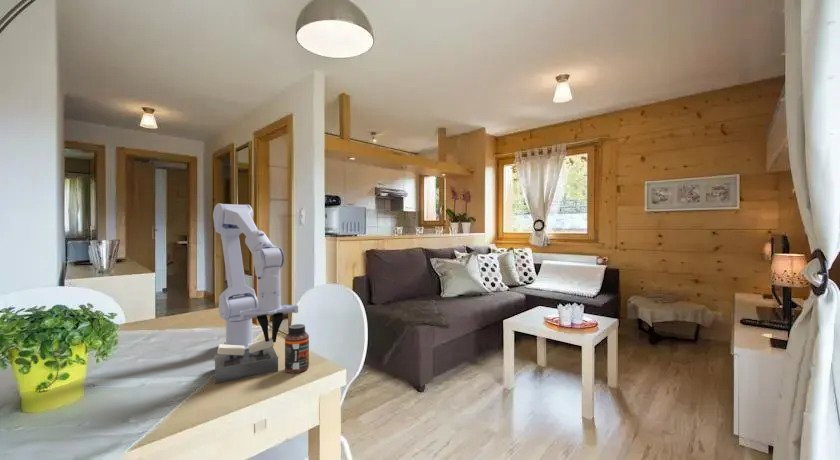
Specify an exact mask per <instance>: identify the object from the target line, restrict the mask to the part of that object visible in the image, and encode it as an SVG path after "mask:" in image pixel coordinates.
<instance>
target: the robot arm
mask: <svg viewBox="0 0 840 460" xmlns="http://www.w3.org/2000/svg"><path fill="white" fill-rule="evenodd" d="M212 213H213V214H212V218H213V227H214V230H215V233H217V234H219V235H220V239H221V244H222V251H223V259H224V261H223V262H224V267H225V275H226V282H227V288H226V289H224V290H223V291H222V292H221V293H220V294H219V296H218V313H219V316H220V318H221V319H222V320H223V321H225V342H223V344H225V345H241V346H244V347H245V351H246V350H249V349H248V344H250V343H253V342H254V340H253V319H254V318H256V319H257V322H258V324H259V325H260V327H261V330H262V333H263V337H264V339H265V341H266V342H268V341H269V338H270V337H269V319H268V318H269V316H271V326H272V327H271V328H272V330H271V337H272V339H273V343H276V342H277V336H278V332H279V329H280V327H281V325H282V323H283V320H284V315H286V314H292V313H294V314H298V313H299V305H298V304H297V303H296V304H284V305H282V297H281V295H282V292H281V289H282V288H281V286H282V285H281V283H282V282H281V268H283V266H284V264H285V258H286V257H285V253H284V251H283V248H282V247H280V246H277V245H274V244H273V243H272V241H271V240H270V239H269V238H268V236H267V234H266V233H265V232H264V231H263V230H261V229H260V230H259V229H258V227H257V225H256V223H255V222H254V220H253V218H254V210H253V208H252V206H251V205H250V204H248V203H247V204H235V203H232V204H230V203H216V205H215V206H214V208H213V212H212ZM242 234H243V235H244V236H245V238H244V243H245V245H246V247H247V248H248V249H249V251H250V252H251V255H252V257H253V258H252V262H253V263H252V264H253V267H254V274H255V276H256V277H257V295H256V291H255V289H254V288H252V287H250V286H249V285H247V284H246V278H245V270H244V262H243V261H244V260H243V255H242V249H241V248H242V247H241V242H240V235H242Z"/></svg>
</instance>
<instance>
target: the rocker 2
mask: <svg viewBox="0 0 840 460" xmlns="http://www.w3.org/2000/svg"><path fill="white" fill-rule="evenodd" d="M274 343H275V342H274ZM274 343H273V339H272V336H271V337H269V341H268V342H266V341H265V338H264V339H261V340H257V341H255V342H254V341H253V343H250V344H248V349H247V350H249V353H253V352H256V351H259V350H262V349H266V348H269V347H272V346H273V347H274V346H275V344H274Z"/></svg>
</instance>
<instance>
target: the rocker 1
mask: <svg viewBox="0 0 840 460" xmlns="http://www.w3.org/2000/svg"><path fill="white" fill-rule="evenodd" d="M217 347H218V348H217V354H218V355H222V354H226V355H244V352H245V351H246V350H245V347H244V346H241V345H225V344H224V343H223V344H222V343H220V344H218V346H217Z"/></svg>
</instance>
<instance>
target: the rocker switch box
mask: <svg viewBox="0 0 840 460" xmlns="http://www.w3.org/2000/svg"><path fill="white" fill-rule="evenodd" d="M277 372H279V357H278V354H277V353H276V350H275V349H274V346H272V347H269V348H266V349H262V350H259V351H256V352H253V353H249V349H246V350H245V352H244V355H226V354H218V355H214V383H215V384H214V385H216V384H222V383H226V382H232V381H237V380H242V379H246V378H252V377H257V376H263V375H266V374H273V373H277Z"/></svg>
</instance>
